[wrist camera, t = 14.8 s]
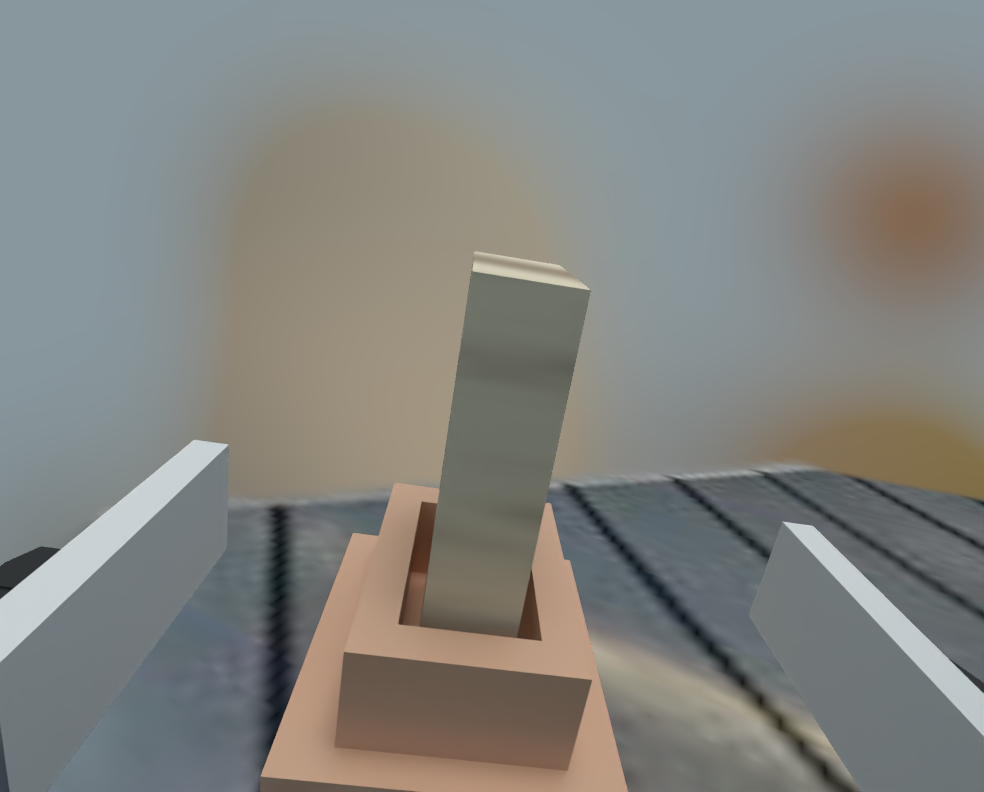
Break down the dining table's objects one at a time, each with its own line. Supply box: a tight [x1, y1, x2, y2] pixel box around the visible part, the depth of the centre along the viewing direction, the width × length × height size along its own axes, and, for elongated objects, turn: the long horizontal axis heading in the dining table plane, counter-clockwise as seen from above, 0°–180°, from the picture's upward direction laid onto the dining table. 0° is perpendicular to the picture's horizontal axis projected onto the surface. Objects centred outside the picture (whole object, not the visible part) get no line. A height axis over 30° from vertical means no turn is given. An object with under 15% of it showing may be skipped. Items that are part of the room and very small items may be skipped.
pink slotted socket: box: [260, 483, 628, 792], centre depth 25 cm, size 14×12×5 cm
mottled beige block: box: [420, 252, 591, 638], centre depth 23 cm, size 7×4×16 cm, turn 1°
